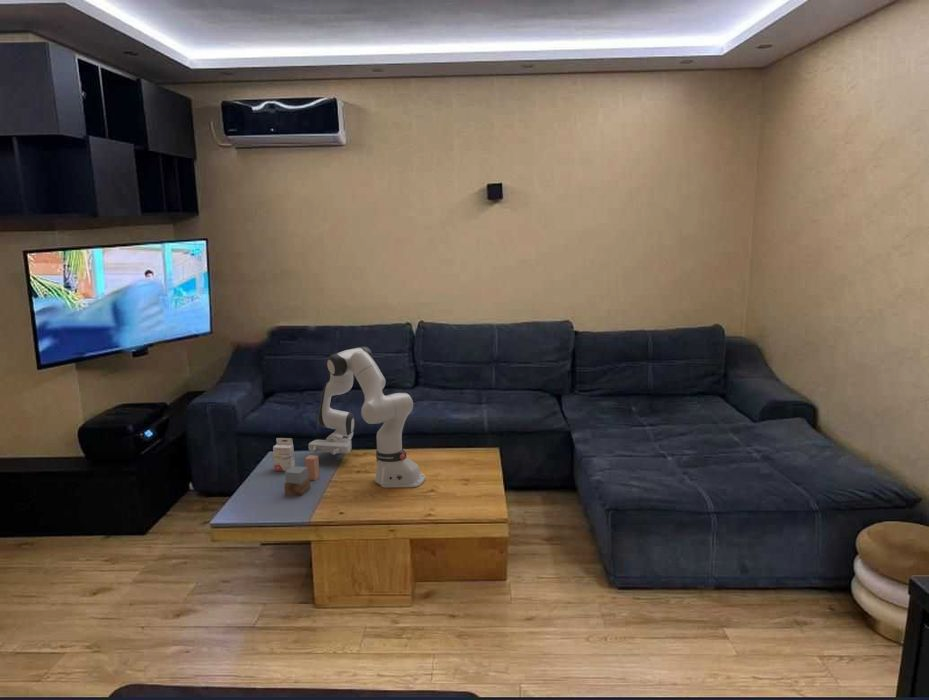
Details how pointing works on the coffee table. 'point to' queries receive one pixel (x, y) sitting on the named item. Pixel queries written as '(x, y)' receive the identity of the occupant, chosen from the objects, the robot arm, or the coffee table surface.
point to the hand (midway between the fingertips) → (323, 452)
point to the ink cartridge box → (283, 454)
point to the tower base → (297, 488)
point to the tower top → (296, 475)
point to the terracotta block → (312, 466)
